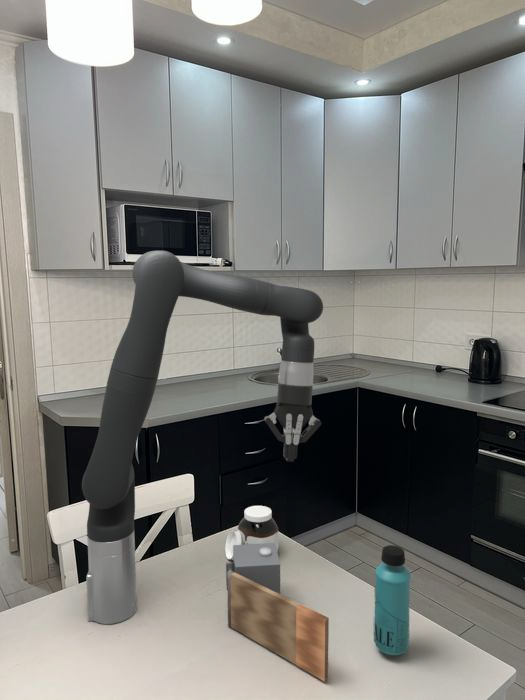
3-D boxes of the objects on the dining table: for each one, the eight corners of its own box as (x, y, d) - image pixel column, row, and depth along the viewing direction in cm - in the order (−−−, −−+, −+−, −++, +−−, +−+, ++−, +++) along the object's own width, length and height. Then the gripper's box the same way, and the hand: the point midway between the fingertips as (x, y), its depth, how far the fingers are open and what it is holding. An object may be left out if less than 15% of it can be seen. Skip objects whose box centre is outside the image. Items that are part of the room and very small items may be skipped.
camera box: (227, 624, 104) (227, 563, 102) (226, 598, 112) (225, 541, 111) (280, 620, 105) (280, 560, 103) (274, 594, 113) (274, 539, 112)
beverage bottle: (410, 644, 98) (413, 543, 95) (407, 668, 91) (411, 560, 89) (374, 636, 100) (377, 537, 97) (370, 659, 94) (372, 554, 91)
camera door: (226, 624, 103) (226, 572, 101) (230, 621, 104) (230, 569, 102) (324, 681, 88) (324, 621, 86) (328, 677, 89) (328, 617, 87)
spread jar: (283, 556, 130) (283, 512, 128) (251, 574, 122) (251, 527, 120) (249, 540, 138) (249, 498, 137) (217, 556, 130) (216, 512, 129)
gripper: (267, 382, 109) (261, 463, 109) (329, 386, 110) (323, 466, 111) (263, 378, 116) (258, 455, 117) (321, 382, 118) (315, 457, 118)
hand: (289, 460), depth 114 cm, fingers closed
